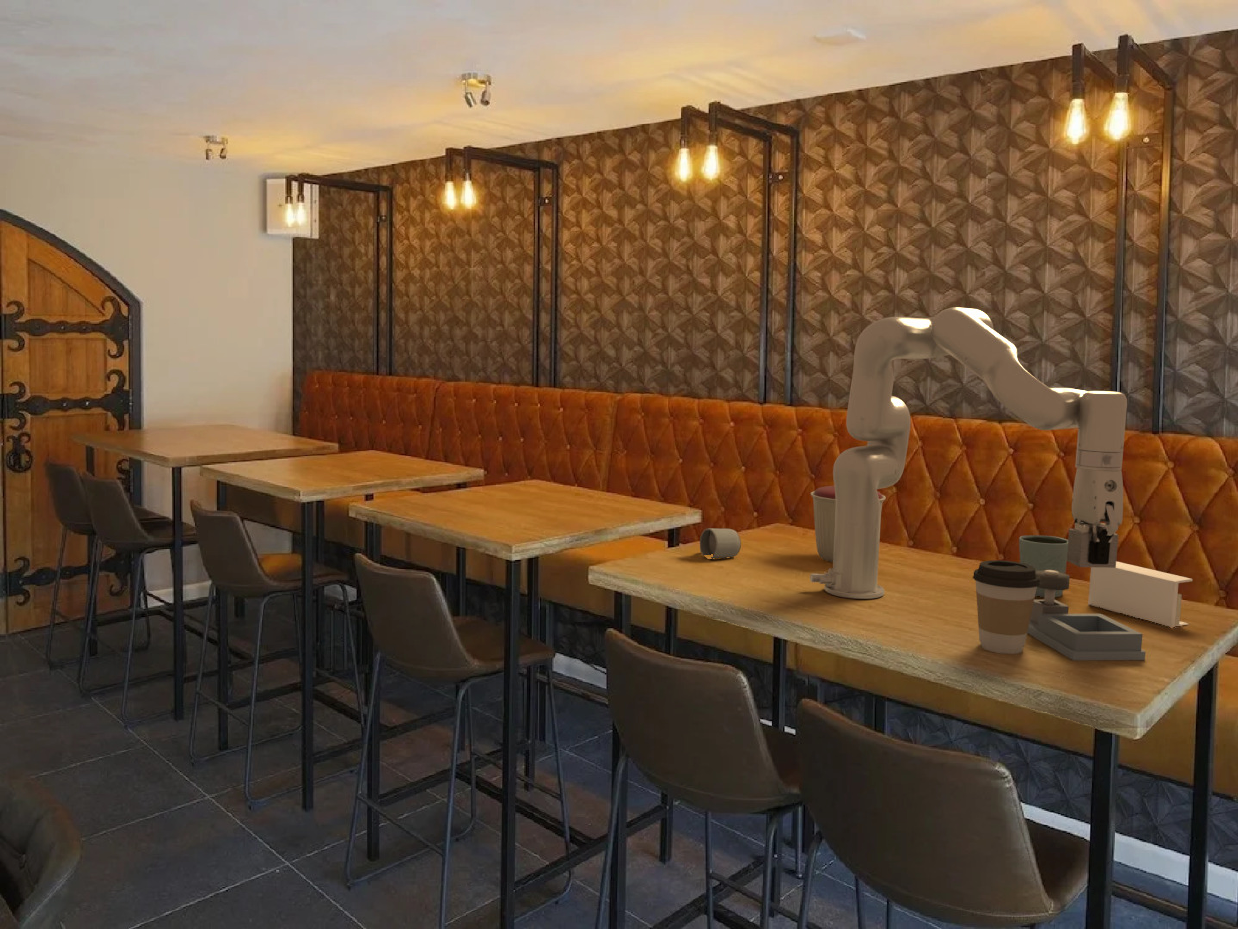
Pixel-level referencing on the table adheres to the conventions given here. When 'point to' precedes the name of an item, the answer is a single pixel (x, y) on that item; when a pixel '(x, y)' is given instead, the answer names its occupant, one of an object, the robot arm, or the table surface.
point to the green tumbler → (1044, 555)
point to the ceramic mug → (720, 543)
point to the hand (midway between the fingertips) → (1091, 559)
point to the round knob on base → (1052, 584)
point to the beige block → (1087, 546)
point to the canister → (827, 520)
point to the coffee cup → (1004, 604)
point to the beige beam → (1137, 593)
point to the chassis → (1084, 634)
